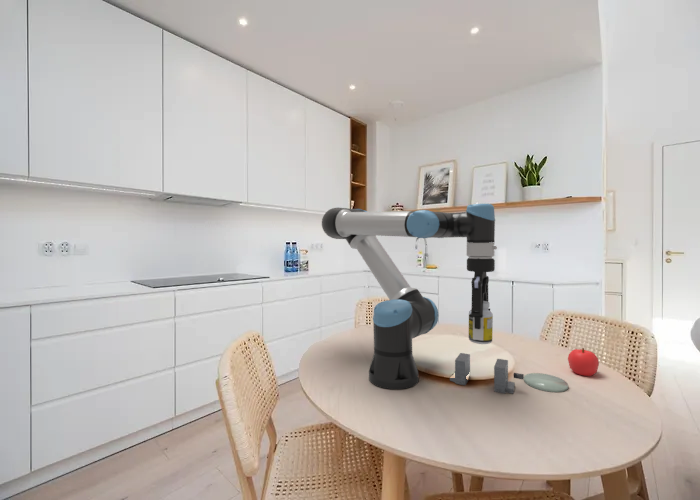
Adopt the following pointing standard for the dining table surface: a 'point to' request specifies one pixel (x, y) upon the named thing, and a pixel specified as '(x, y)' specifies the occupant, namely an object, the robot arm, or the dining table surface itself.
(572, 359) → the apple
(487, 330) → the pill bottle
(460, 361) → the vise
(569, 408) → the dining table surface
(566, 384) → the pale green round disc
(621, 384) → the dining table surface
